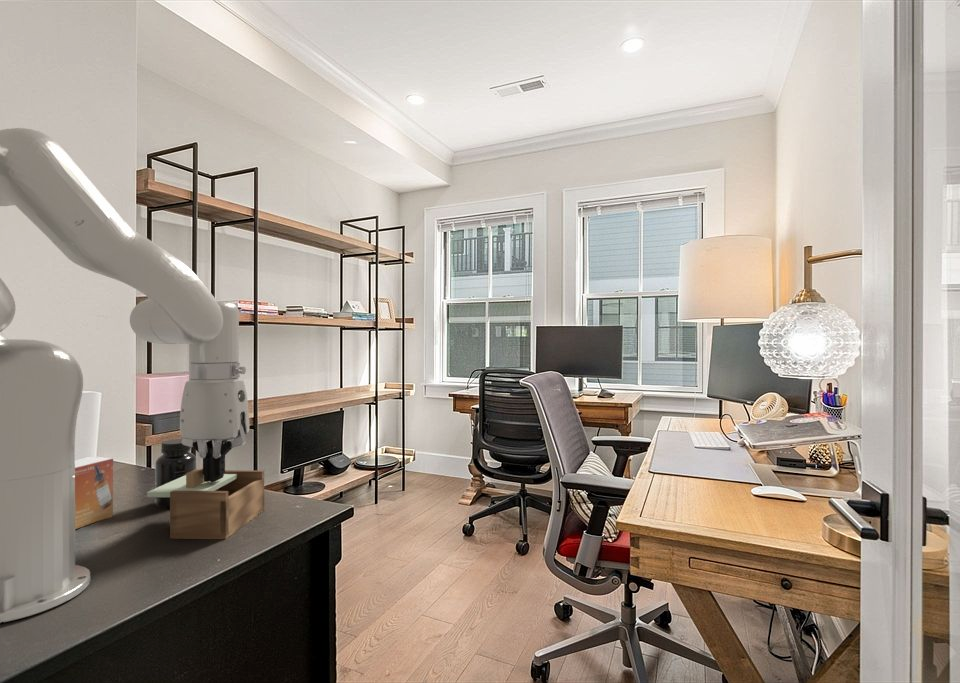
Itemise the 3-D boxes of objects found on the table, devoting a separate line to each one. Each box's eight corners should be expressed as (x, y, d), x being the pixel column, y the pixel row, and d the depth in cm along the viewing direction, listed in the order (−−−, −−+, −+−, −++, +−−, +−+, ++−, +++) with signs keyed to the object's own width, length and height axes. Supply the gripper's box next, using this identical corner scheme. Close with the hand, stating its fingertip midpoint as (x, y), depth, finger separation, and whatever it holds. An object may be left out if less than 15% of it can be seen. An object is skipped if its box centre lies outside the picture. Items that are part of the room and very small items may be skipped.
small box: (68, 533, 80) (68, 469, 80) (41, 530, 81) (41, 467, 81) (114, 515, 88) (114, 457, 88) (89, 513, 89) (89, 455, 89)
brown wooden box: (225, 539, 77) (225, 492, 77) (170, 538, 78) (170, 492, 78) (264, 510, 90) (264, 470, 90) (216, 509, 91) (216, 470, 91)
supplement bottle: (147, 505, 93) (147, 442, 93) (183, 495, 99) (183, 436, 99) (168, 511, 90) (168, 446, 90) (204, 500, 96) (204, 439, 96)
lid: (201, 497, 79) (201, 477, 79) (147, 497, 79) (147, 477, 79) (237, 478, 89) (237, 461, 89) (188, 478, 90) (188, 460, 90)
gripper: (267, 372, 87) (267, 474, 87) (185, 371, 88) (185, 473, 88) (245, 374, 80) (245, 486, 80) (156, 374, 80) (156, 485, 80)
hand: (214, 479), depth 84 cm, fingers closed
